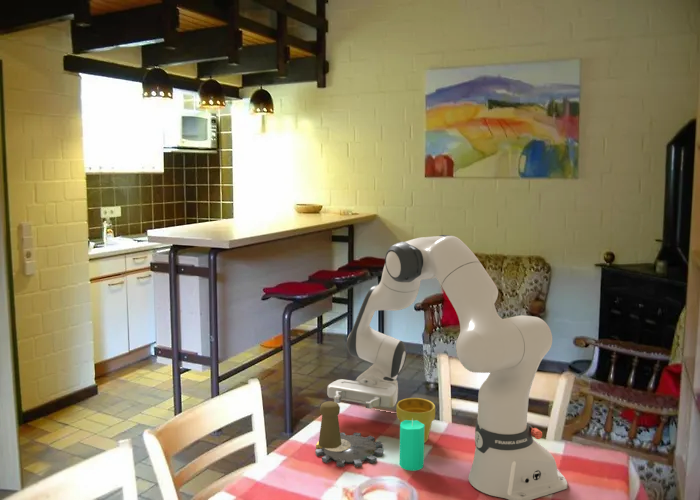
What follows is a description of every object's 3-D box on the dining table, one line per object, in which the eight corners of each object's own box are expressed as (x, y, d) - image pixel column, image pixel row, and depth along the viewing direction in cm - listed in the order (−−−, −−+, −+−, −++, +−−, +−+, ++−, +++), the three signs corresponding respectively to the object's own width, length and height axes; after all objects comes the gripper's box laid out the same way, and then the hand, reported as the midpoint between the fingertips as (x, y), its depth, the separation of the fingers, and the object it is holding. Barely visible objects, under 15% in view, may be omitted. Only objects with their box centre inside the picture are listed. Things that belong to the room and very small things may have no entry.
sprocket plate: (371, 432, 167) (371, 428, 167) (392, 462, 150) (392, 457, 150) (309, 439, 162) (309, 435, 162) (323, 471, 145) (323, 466, 145)
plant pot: (407, 451, 156) (408, 415, 155) (389, 434, 165) (389, 400, 164) (441, 443, 160) (442, 408, 159) (422, 428, 170) (422, 395, 168)
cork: (334, 450, 154) (334, 409, 152) (314, 445, 156) (313, 404, 155) (345, 441, 159) (345, 401, 157) (325, 436, 162) (325, 397, 160)
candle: (424, 470, 146) (426, 423, 144) (400, 470, 146) (401, 423, 144) (422, 459, 152) (423, 413, 150) (398, 458, 152) (399, 413, 150)
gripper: (338, 371, 181) (317, 386, 169) (402, 381, 174) (386, 397, 161) (337, 391, 182) (318, 407, 170) (402, 401, 174) (386, 420, 162)
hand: (352, 403), depth 165 cm, fingers open, 8 cm apart
